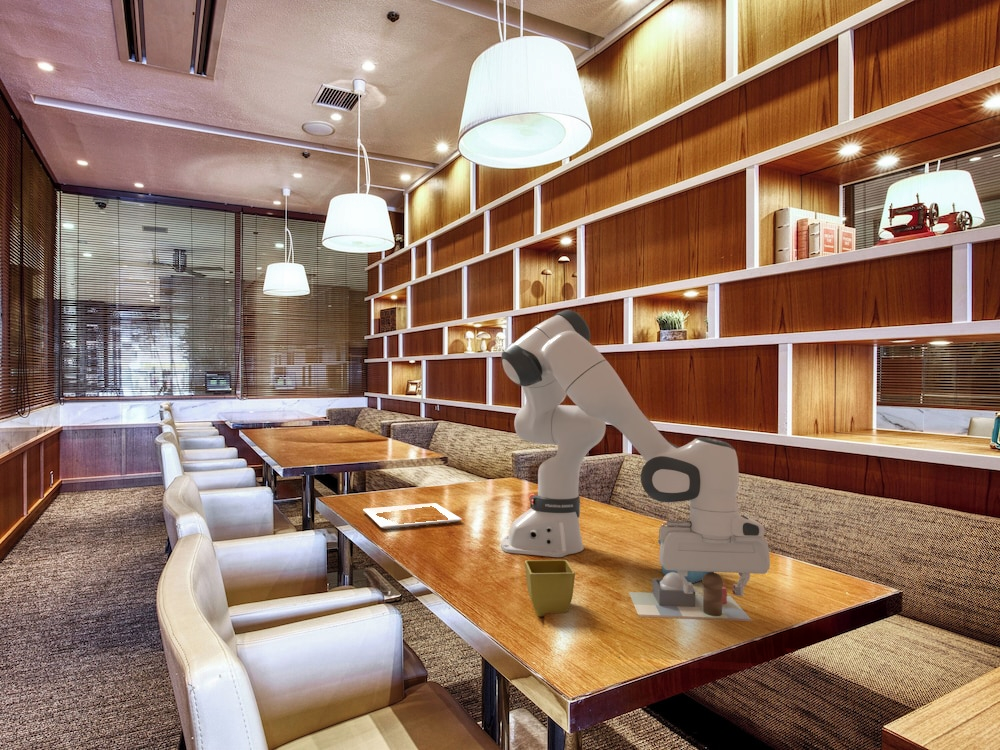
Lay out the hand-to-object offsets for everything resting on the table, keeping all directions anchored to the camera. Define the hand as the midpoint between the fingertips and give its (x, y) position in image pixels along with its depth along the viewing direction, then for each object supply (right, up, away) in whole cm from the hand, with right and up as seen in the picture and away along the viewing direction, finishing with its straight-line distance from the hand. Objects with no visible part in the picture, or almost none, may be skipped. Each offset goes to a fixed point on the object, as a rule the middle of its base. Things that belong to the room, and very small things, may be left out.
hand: (712, 593), depth 112 cm
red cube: (+3, -4, +6) cm, 7 cm away
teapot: (+2, -5, +22) cm, 23 cm away
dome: (-6, -3, +6) cm, 9 cm away
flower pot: (-32, -4, +2) cm, 32 cm away
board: (-4, -5, +3) cm, 7 cm away
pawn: (0, -4, 0) cm, 4 cm away
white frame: (-70, -5, +78) cm, 105 cm away
